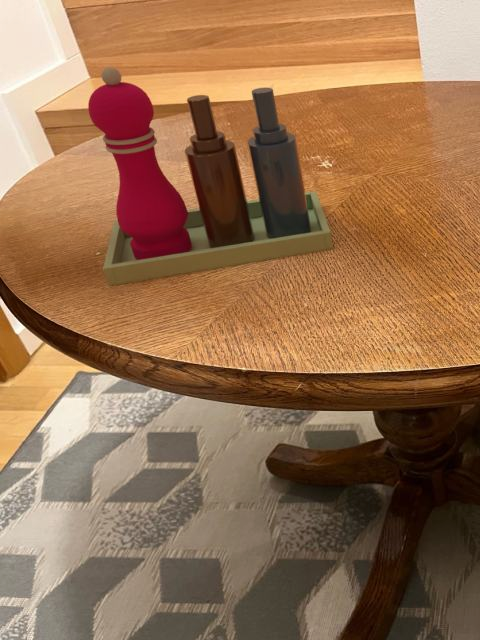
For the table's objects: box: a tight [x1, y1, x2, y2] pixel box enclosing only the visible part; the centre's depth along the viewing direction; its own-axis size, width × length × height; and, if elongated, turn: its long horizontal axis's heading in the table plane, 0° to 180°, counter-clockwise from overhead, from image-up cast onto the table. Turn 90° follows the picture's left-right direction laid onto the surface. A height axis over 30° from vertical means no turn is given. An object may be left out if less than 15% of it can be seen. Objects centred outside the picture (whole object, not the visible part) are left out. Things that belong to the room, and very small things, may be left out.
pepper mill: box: [87, 66, 192, 260], centre depth 77 cm, size 7×7×20 cm
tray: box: [102, 190, 334, 287], centre depth 83 cm, size 24×13×2 cm, turn 107°
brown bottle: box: [184, 94, 255, 248], centre depth 80 cm, size 5×5×16 cm
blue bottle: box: [246, 87, 311, 239], centre depth 81 cm, size 5×5×16 cm
